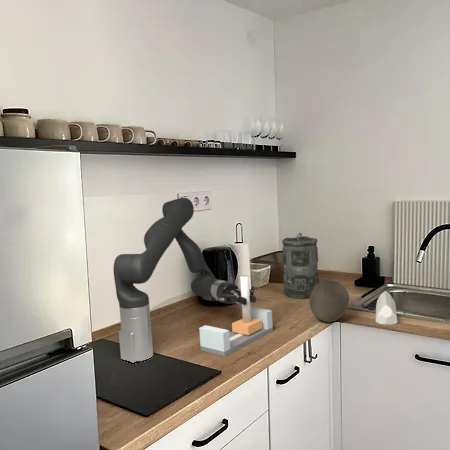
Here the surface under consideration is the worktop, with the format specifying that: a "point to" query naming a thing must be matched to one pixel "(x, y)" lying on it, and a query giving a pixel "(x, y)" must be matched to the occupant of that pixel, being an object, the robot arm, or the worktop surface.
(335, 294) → the cantaloupe
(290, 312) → the worktop surface
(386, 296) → the crystal
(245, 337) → the rail track
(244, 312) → the carriage
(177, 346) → the worktop surface
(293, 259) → the canister
